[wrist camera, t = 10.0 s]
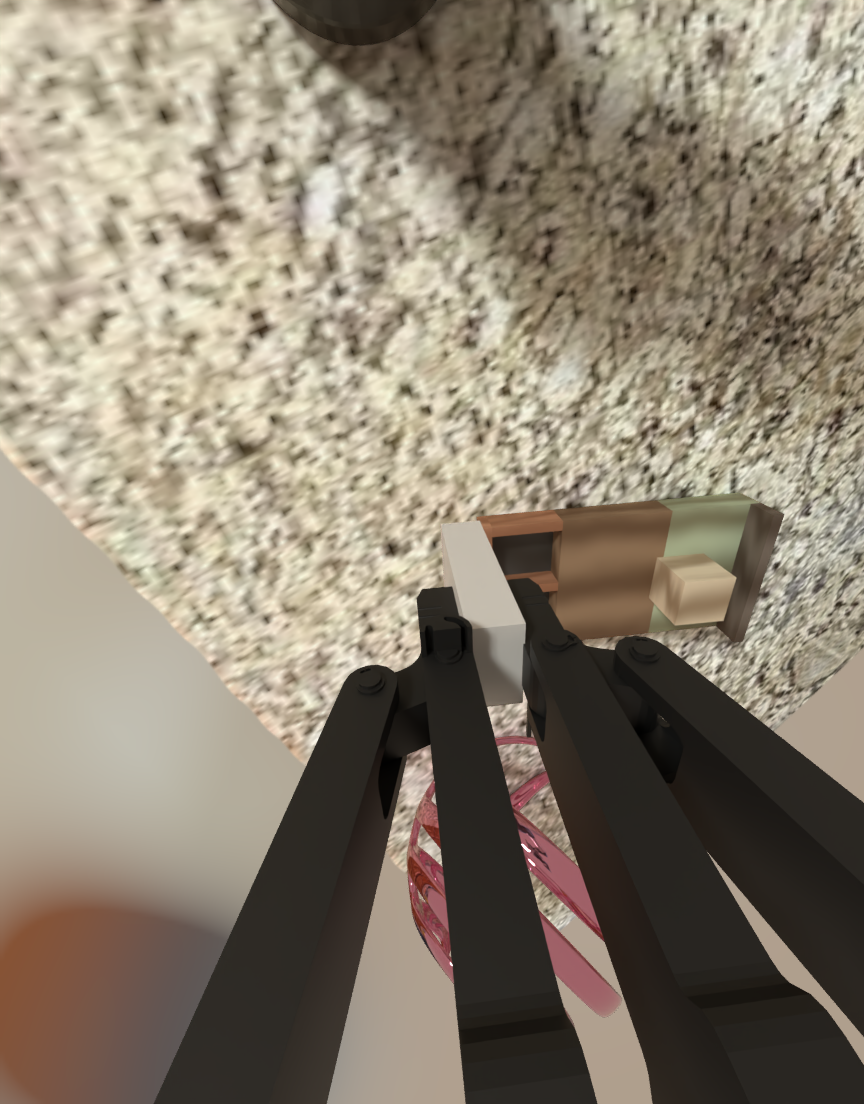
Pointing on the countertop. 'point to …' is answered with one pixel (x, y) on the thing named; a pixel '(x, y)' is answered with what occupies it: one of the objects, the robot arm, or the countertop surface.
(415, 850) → the spiral basket
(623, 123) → the countertop surface
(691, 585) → the maple block
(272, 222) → the countertop surface
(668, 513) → the board
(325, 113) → the countertop surface
